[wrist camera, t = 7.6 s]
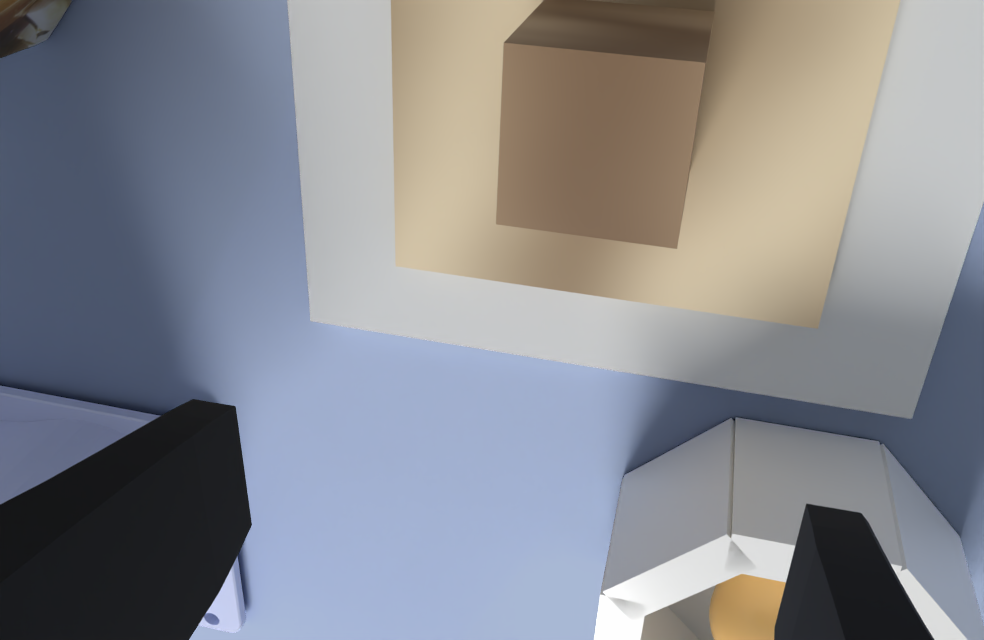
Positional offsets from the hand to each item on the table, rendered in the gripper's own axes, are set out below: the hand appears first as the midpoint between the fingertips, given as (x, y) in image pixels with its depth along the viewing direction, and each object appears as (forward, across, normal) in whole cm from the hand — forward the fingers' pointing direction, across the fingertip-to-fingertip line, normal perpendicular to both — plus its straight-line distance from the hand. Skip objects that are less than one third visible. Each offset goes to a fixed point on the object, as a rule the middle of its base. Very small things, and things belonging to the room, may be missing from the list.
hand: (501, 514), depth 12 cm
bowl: (+10, -5, +9) cm, 14 cm away
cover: (+10, 0, -3) cm, 10 cm away
